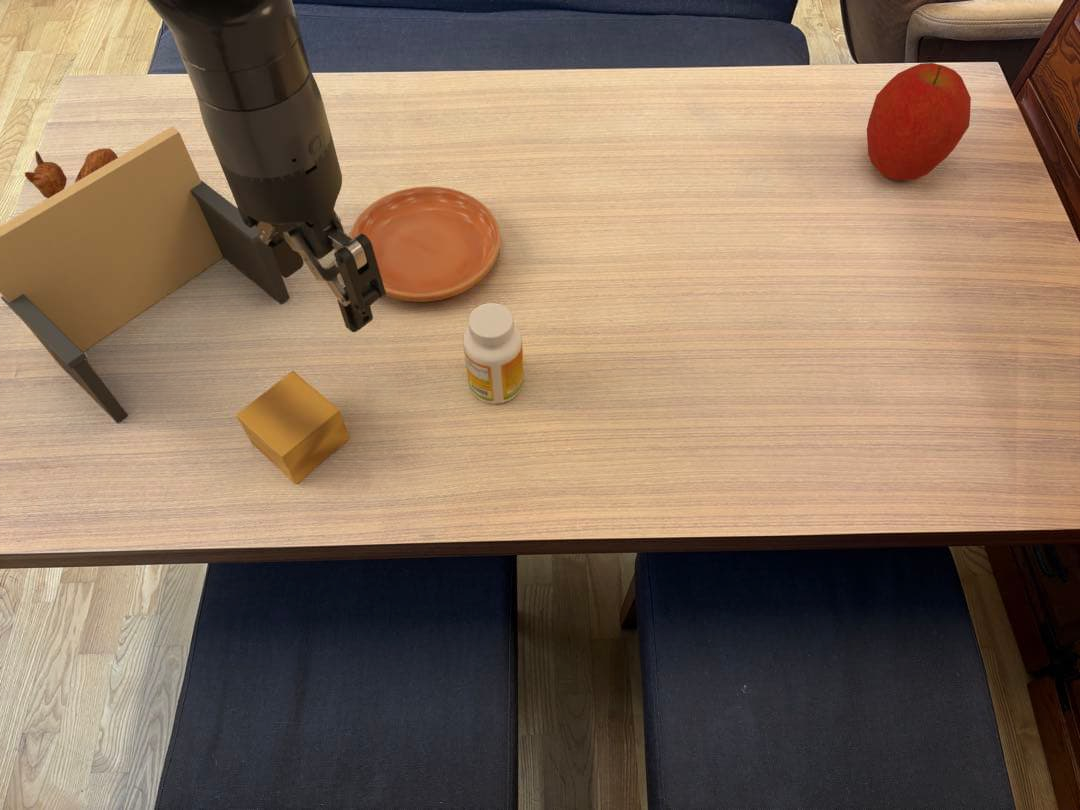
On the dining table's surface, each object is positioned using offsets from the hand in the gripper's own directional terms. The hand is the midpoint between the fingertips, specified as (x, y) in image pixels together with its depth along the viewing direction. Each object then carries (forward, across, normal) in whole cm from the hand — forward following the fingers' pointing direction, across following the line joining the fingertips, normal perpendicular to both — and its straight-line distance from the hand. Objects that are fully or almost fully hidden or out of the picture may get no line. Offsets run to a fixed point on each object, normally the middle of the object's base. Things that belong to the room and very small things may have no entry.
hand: (325, 297), depth 69 cm
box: (+15, 0, -7) cm, 17 cm away
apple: (+15, +22, +63) cm, 69 cm away
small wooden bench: (+15, -20, -7) cm, 26 cm away
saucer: (+15, -8, +17) cm, 25 cm away
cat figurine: (+15, -39, -1) cm, 42 cm away
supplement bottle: (+15, +8, +10) cm, 20 cm away
